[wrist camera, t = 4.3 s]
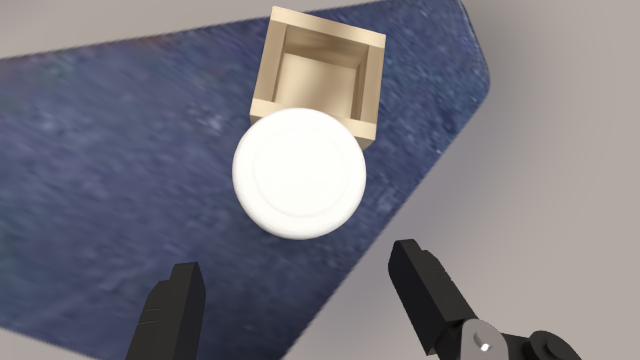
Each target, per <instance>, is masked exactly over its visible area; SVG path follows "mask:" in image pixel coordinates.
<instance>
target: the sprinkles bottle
mask: <svg viewBox="0 0 640 360" xmlns="http://www.w3.org/2000/svg"><path fill="white" fill-rule="evenodd" d="M232 177H233V184H234V189H235V192H236V195H237V197H238V199H239V202H240V204H241V205H242V207H243V208H244V210H245V212H246V213H247V214H248V216H249V217H250V218H251V219H252V220H253V221H254V222H255V223H256V224H257V225H258V226H260V227H261V228H262V229H264V230H266V231H267V232H269V233H271V234H273V235H276V236H279V237H282V238H287V239H296V240H300V239H310V238H315V237H318V236H322V235H325V234H327V233H329V232H331V231H333V230H335V229H337V228H338V227H339V226H341V225H342V224H343V223H344V222H346V221H347V220H348V219H349V218H350V216H351V215H352V214H353V213H354V211H355V210H356V208H357V207H358V205H359V203H360V201H361V199H362V196H363V193H364V189H365V183H366V167H365V161H364V157H363V153H362V150H361V148H360V147H359V144H358V143H357V141H356V139H355V138H354V136H353V135H352V134H351V132H350V131H349V130H348V129H347V128H346V127H345V126H344V125H343V124H342V123H340V122H339V121H338V120H336V119H335V118H333V117H331V116H329V115H327V114H325V113H323V112H320V111H316V110H313V109H307V108H288V109H282V110H279V111H276V112H273V113H271V114H268V115H266V116H265V117H263V118H261V119H260V120H258V121H257V122H256V123H255V124H254V125H252V126H251V127H250V128H249V130H248V131H247V132H246V133H245V135H244V136H243V137H242V139H241V140H240V142H239V144H238V147H237V149H236V152H235V155H234V159H233V167H232Z"/></svg>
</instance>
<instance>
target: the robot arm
mask: <svg viewBox="0 0 640 360" xmlns="http://www.w3.org/2000/svg"><path fill="white" fill-rule="evenodd" d="M388 271H389V275H390V278H391V280H392V283H393V285H394V287H395V289H396V291H397V293H398V295H399V298H400V300H401V301H402V303H403V306H404V308H405V310H406V312H407V314H408V317H409V319H410V321H411V323H412V325H413V327H414V330H415V331H416V334H417V336H418V338H419V340H420V342H421V344H422V347H423V349H424V351H425V353H426V355H427V356H428V355H433V354H437V355H438V357H439V359H440V360H581V358H580V357H579V356H578V354H577V353H576V352H575V351H574V350H573V349H572V347H570V345H569V344H567V343H566V342H565V341H564V340H563V339H561V338H560V337H558V336H556V335H554V334H552V333H550V332H547V331H535V332H534V333H533V334H532V335H531V336H530V337H529V338H526V337H520V336H514V335H509V334H504V333H500V332H499V331H498V330H497V329H496V328H495V327H493V326H492V325H491V324H489V323H487V322H485V321H483V320H480V319H479V318H478V317H477V316H476V315H475V314H474V312H473V310H472V309H471V308H470V306H469V305H468V303H467V302H466V300H465V299H464V298H463V296H462V294H461V293H460V291H459V290H458V288H457V287H456V285H455V284H454V282H453V281H451V278H450V277H449V275H448V274H447V272H445V269H444V268H443V266H442V265H441V263H440V262H439V260H438V259H437V258H436V257H434V256H433V255H432V254H431V253H430V252H428V251H427V250H421V248H420V247H419V245H418V244H417V242H416V241H415V240H414V239H407V240H398V241H395V243H394V245H393V249H392V252H391V256H390V259H389V263H388ZM205 298H206V292H205V285H204V281H203V278H202V274H201V271H200V268H199V264H198V262H191V263H182V264H175V266H174V267H173V270H172V273H171V277H170V280H164V281H159V282H158V283H157V285H156V286H155V287H154V288H153V290H152V291H151V292H150V293H149V295H148V297H147V300H146V303H145V306H144V308H143V313H142V314H141V317H140V320H139V325H137V328H136V331H135V334H134V336H133V339H132V342H131V345H130V348H129V350H128V353H127V356H126V359H125V360H196V354H197V348H198V342H199V336H200V330H201V324H202V318H203V312H204V306H205Z"/></svg>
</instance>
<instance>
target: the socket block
mask: <svg viewBox="0 0 640 360" xmlns="http://www.w3.org/2000/svg"><path fill="white" fill-rule="evenodd" d="M385 38H386V35H384V34H380V33H376V32H372V31H368V30H365V29H361V28H357V27H353V26H349V25H346V24H342V23H338V22H334V21H330V20H327V19H323V18H319V17H315V16H311V15H307V14H304V13H300V12H296V11H292V10H288V9H284V8H281V7H277V6H273V9H272V14H271V18H270V23H269V28H268V32H267V37H266V41H265V46H264V51H263V55H262V60H261V64H260V69H259V74H258V78H257V83H256V88H255V92H254V97H253V101H252V106H251V111H250V119H251V125H254V124H255V123H256V122H257V121H258V120H260V119H261V118H263V117H265V116H266V115H268V114H271V113H273V112H276V111H279V110H282V109H288V108H307V109H313V110H316V111H320V112H323V113H325V114H327V115H329V116H331V117H333V118H335V119H336V120H338V121H339V122H340V123H342V124H343V125H344V126H345V127H346V128H347V129H348V130H349V131H350V132H351V134H352V135H353V136H354V138H355V139H356V141H357V143H358V144H359V147H360V148H361V150H362V152H363V151H364V150H365V149H366V148H367V147H368V146H369V145H370V144H371V143H372V142H373V141H374V140H375V133H376V124H377V114H378V105H379V95H380V86H381V76H382V66H383V57H384V47H385Z"/></svg>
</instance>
